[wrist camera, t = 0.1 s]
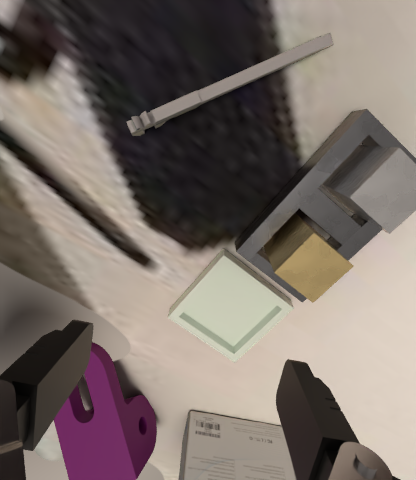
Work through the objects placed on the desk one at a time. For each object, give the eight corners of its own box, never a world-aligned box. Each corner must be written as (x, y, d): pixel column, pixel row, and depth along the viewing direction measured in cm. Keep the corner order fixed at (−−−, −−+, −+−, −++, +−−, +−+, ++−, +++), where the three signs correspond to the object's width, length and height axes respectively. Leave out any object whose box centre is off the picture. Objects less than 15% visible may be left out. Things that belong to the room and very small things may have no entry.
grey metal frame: (351, 111, 28) (366, 109, 25) (416, 175, 30) (436, 179, 27) (234, 241, 33) (236, 251, 31) (295, 289, 35) (302, 302, 32)
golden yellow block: (291, 210, 32) (314, 232, 24) (323, 236, 33) (353, 266, 25) (262, 242, 33) (274, 272, 26) (292, 266, 34) (313, 302, 27)
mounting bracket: (78, 339, 47) (108, 451, 45) (37, 356, 39) (72, 494, 36) (127, 322, 45) (161, 437, 43) (96, 336, 37) (136, 479, 35)
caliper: (141, 136, 30) (122, 136, 24) (137, 126, 30) (116, 124, 24) (331, 46, 27) (363, 20, 21) (328, 33, 26) (360, 3, 20)
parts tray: (223, 248, 34) (223, 255, 32) (290, 299, 36) (294, 308, 34) (170, 308, 37) (167, 317, 35) (234, 351, 39) (234, 362, 37)
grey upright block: (353, 144, 29) (399, 147, 22) (385, 175, 30) (439, 188, 23) (317, 182, 31) (349, 197, 23) (349, 210, 32) (389, 233, 24)
